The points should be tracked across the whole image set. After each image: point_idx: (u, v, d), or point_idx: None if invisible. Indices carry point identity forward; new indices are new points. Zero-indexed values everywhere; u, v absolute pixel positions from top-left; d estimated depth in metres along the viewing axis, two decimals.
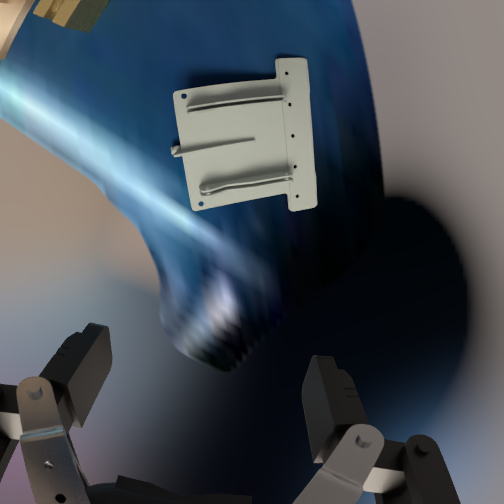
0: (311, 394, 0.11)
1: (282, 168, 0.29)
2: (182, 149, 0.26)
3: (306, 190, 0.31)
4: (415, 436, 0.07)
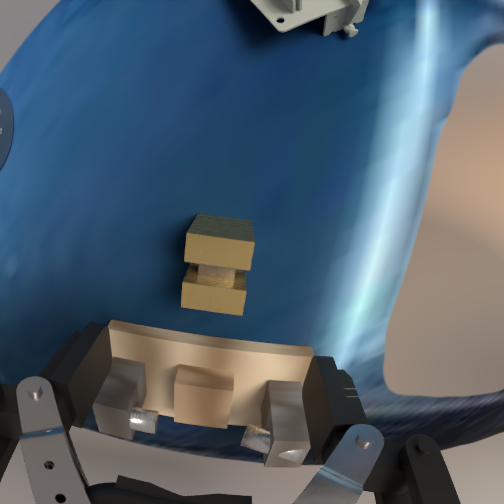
0: (311, 394, 0.11)
1: None
2: (347, 4, 0.15)
3: None
4: (415, 436, 0.07)
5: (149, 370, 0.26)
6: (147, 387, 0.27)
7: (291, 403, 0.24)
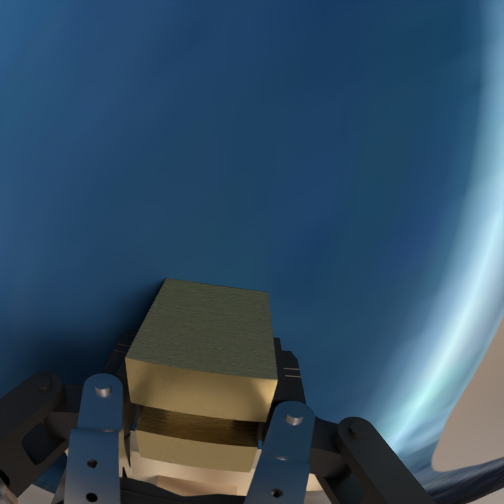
0: None
1: None
2: None
3: None
4: (345, 420, 0.08)
5: None
6: None
7: None
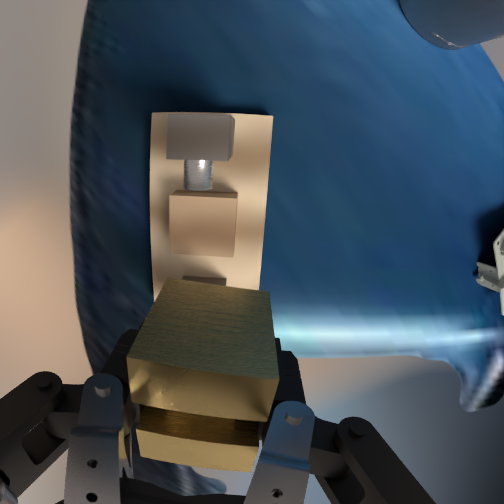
0: None
1: None
2: (499, 280, 0.27)
3: None
4: (345, 420, 0.08)
5: None
6: None
7: None
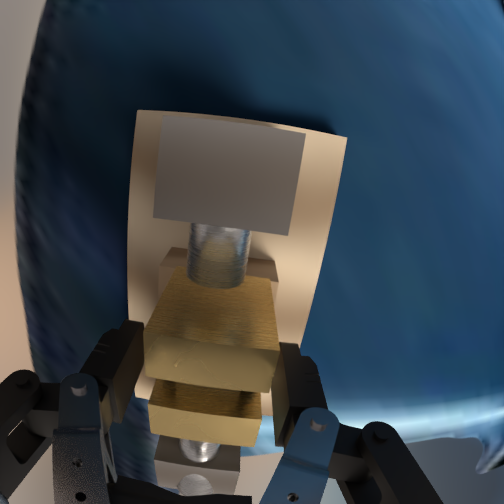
0: (276, 379, 0.11)
1: None
2: None
3: None
4: (370, 424, 0.08)
5: None
6: None
7: None
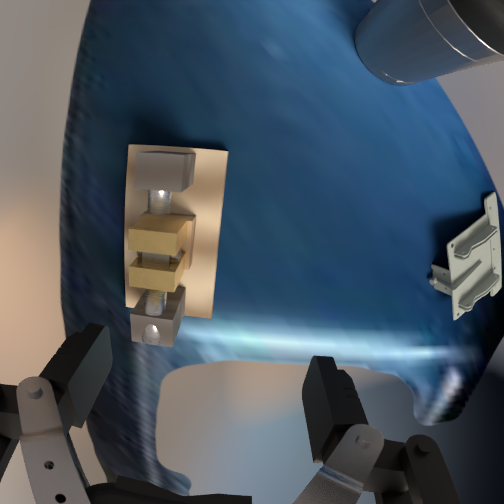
0: (311, 394, 0.11)
1: (489, 272, 0.35)
2: (452, 283, 0.32)
3: None
4: (415, 436, 0.07)
5: None
6: None
7: (180, 314, 0.32)
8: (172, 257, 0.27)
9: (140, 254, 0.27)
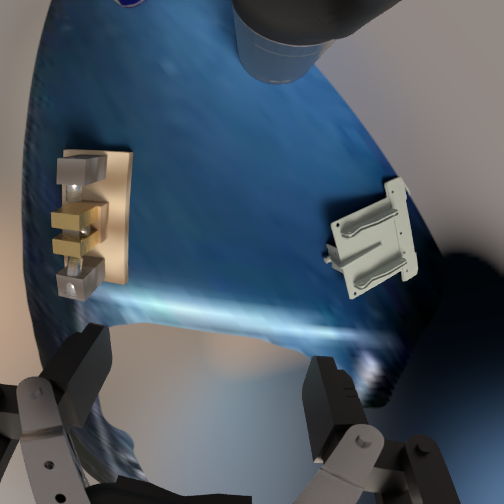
0: (311, 394, 0.11)
1: (397, 256, 0.42)
2: (341, 261, 0.39)
3: (411, 265, 0.43)
4: (415, 436, 0.07)
5: (100, 181, 0.37)
6: None
7: (97, 278, 0.39)
8: (82, 233, 0.34)
9: (63, 230, 0.34)
